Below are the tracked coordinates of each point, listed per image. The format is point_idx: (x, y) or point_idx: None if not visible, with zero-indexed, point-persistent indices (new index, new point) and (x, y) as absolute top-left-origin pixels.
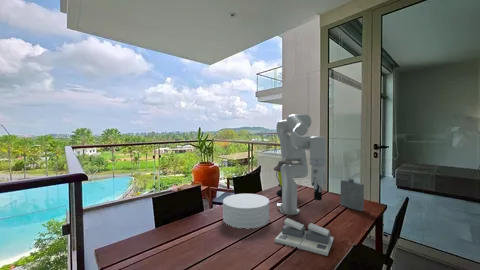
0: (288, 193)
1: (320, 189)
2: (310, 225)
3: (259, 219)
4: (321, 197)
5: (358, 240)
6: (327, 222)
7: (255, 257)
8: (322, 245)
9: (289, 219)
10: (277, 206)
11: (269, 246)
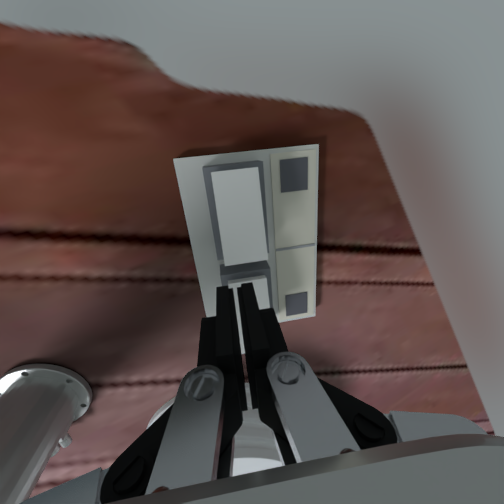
0: (10, 497)
1: (278, 396)
2: (253, 254)
3: (248, 407)
4: (229, 299)
5: (85, 41)
6: (5, 237)
7: (404, 304)
8: (283, 175)
9: (242, 342)
10: (70, 438)
11: (341, 307)
